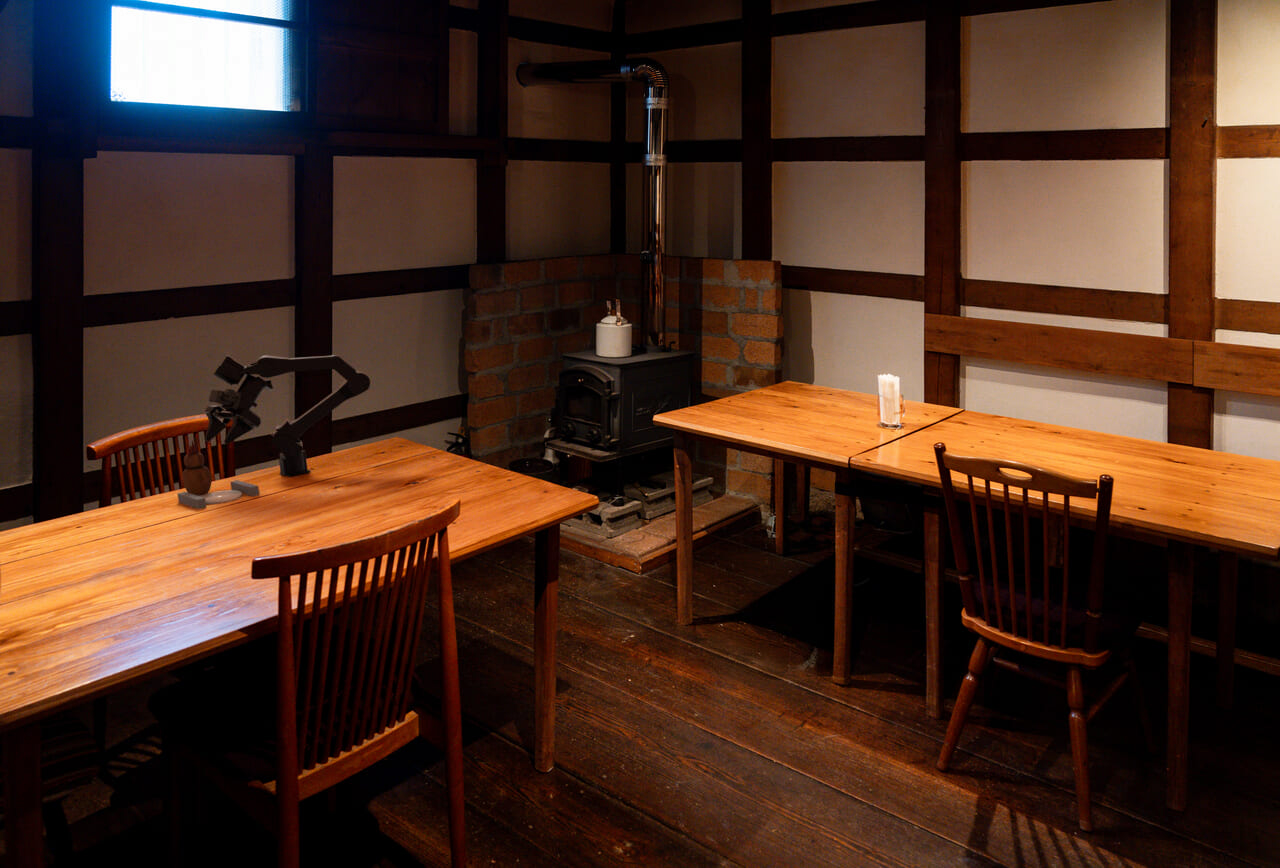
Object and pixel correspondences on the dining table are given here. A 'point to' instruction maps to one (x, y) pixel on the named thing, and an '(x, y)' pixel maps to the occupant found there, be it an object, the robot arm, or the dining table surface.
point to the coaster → (221, 496)
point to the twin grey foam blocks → (200, 501)
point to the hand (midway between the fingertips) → (215, 442)
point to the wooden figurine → (196, 472)
